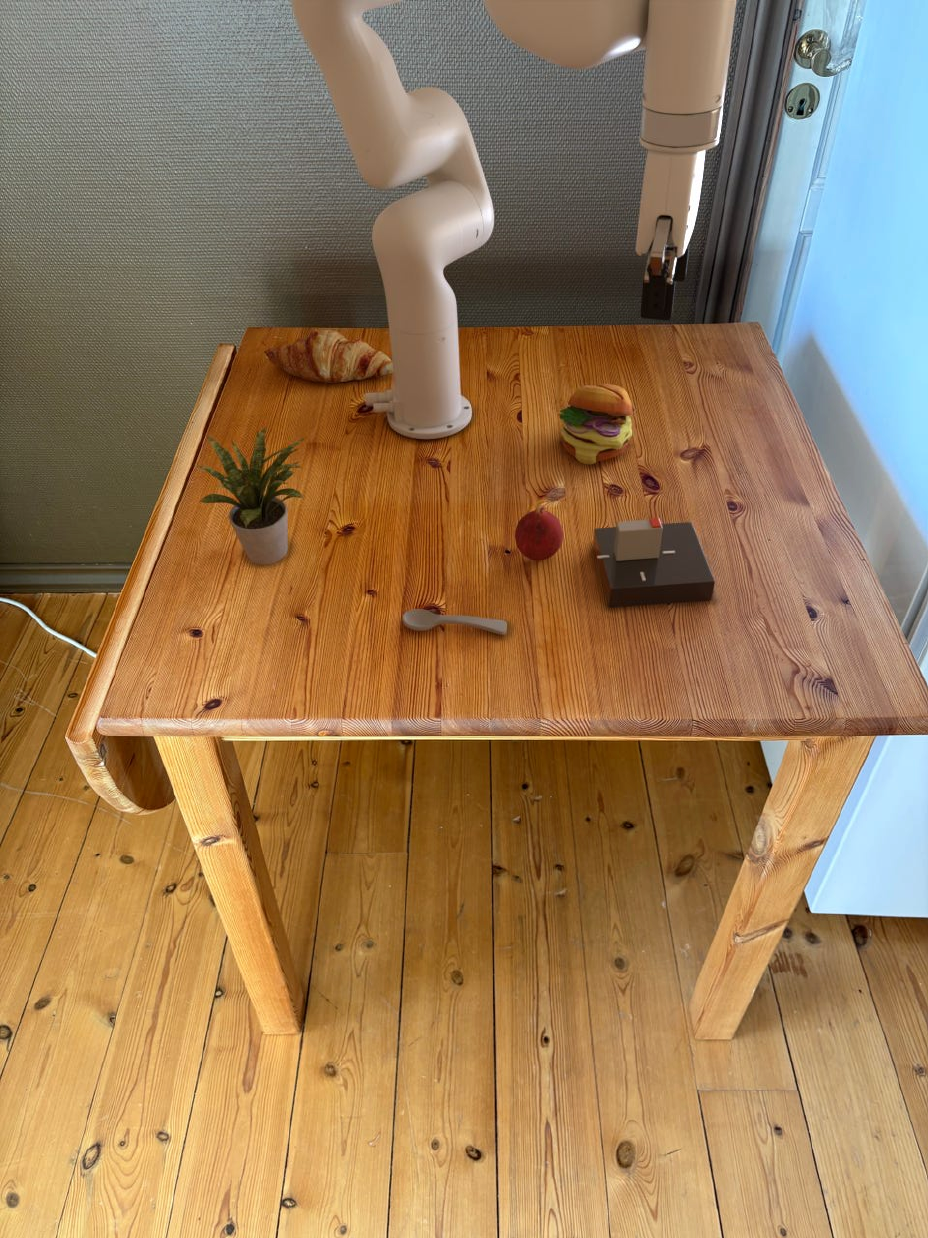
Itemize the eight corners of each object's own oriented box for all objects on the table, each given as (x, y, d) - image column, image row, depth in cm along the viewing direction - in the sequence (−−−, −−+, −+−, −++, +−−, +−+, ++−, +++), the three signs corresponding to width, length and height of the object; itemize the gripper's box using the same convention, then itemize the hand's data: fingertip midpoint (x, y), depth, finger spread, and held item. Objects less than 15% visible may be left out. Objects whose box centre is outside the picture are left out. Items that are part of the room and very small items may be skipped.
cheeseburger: (547, 460, 129) (553, 389, 124) (568, 436, 138) (575, 369, 132) (618, 472, 126) (628, 400, 121) (635, 448, 134) (645, 380, 129)
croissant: (401, 386, 151) (404, 335, 149) (387, 388, 142) (389, 334, 140) (277, 376, 154) (278, 325, 152) (255, 377, 145) (255, 324, 142)
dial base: (603, 608, 107) (605, 588, 105) (588, 547, 115) (589, 527, 113) (711, 600, 108) (715, 580, 106) (688, 540, 116) (691, 520, 113)
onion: (558, 577, 112) (561, 524, 106) (511, 572, 113) (511, 519, 107) (564, 546, 116) (567, 494, 110) (519, 541, 117) (519, 490, 111)
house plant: (333, 585, 112) (313, 473, 101) (217, 603, 110) (183, 492, 99) (322, 514, 122) (303, 405, 111) (215, 530, 120) (185, 421, 109)
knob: (616, 561, 109) (619, 529, 105) (613, 551, 110) (616, 519, 107) (658, 558, 109) (663, 526, 106) (655, 548, 110) (659, 516, 107)
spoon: (404, 615, 108) (404, 602, 106) (507, 626, 107) (508, 613, 106) (400, 633, 105) (400, 620, 104) (504, 644, 105) (506, 632, 103)
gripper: (656, 98, 95) (643, 263, 107) (623, 152, 83) (613, 331, 95) (731, 100, 93) (709, 268, 105) (708, 155, 81) (687, 338, 93)
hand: (663, 298), depth 100 cm, fingers open, 9 cm apart
